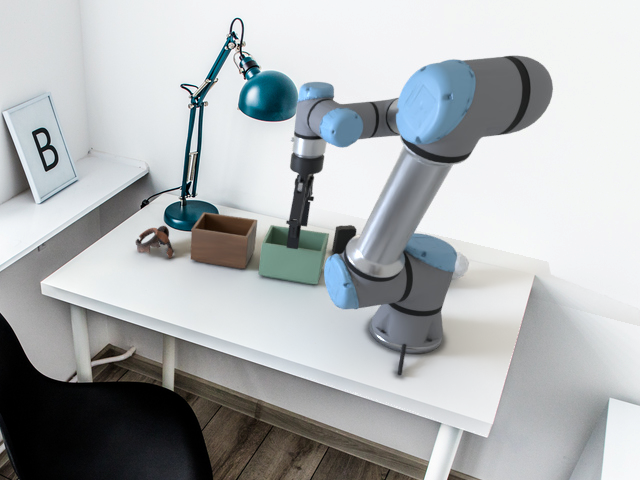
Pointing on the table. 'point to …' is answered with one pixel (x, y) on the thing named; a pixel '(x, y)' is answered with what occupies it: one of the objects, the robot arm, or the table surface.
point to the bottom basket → (223, 240)
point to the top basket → (293, 256)
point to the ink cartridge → (342, 238)
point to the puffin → (460, 266)
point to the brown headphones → (155, 240)
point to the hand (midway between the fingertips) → (297, 236)
